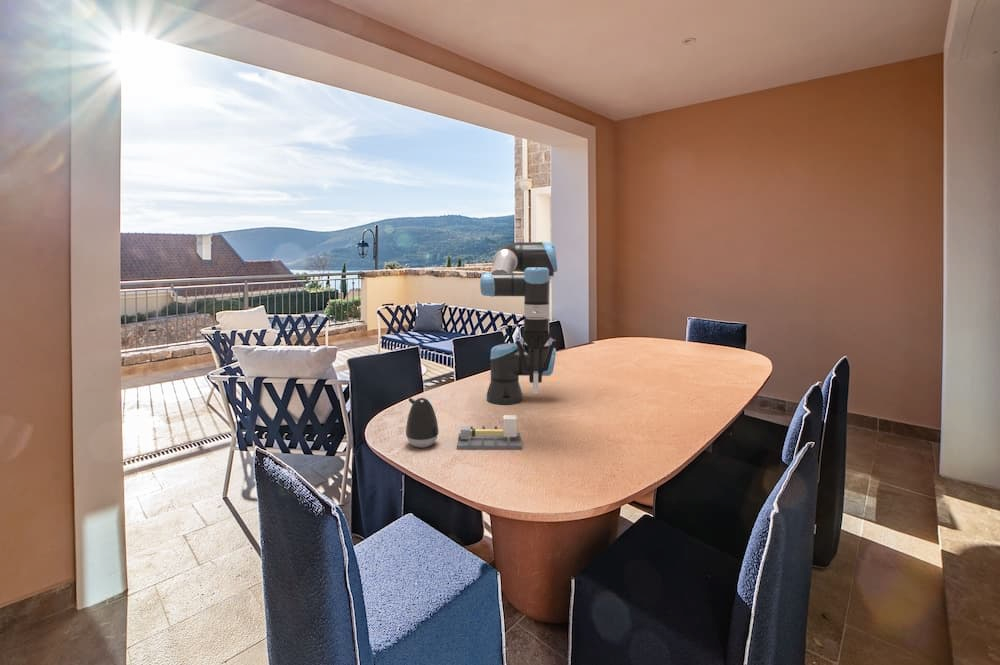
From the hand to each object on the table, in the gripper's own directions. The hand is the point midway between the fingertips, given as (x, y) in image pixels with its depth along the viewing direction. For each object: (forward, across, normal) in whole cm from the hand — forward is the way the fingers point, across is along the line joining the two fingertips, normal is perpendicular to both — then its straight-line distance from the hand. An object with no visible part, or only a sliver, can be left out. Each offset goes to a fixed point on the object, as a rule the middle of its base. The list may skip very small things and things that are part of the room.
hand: (535, 392), depth 153 cm
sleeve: (+14, -8, 0) cm, 16 cm away
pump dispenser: (+17, -36, -1) cm, 40 cm away
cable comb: (+17, -14, 0) cm, 22 cm away
